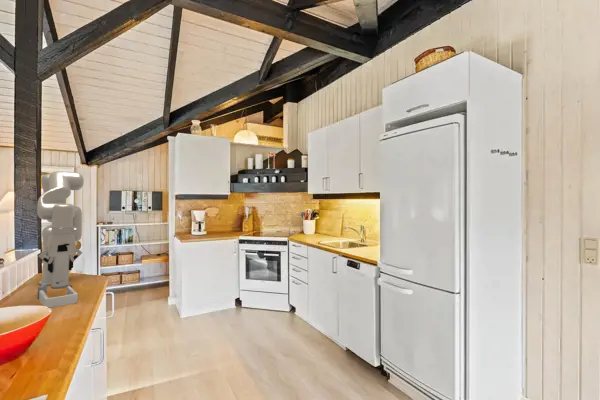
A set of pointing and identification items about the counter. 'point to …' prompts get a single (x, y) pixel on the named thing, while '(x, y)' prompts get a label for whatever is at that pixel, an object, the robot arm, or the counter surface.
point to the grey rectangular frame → (59, 298)
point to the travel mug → (60, 268)
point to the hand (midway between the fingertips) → (60, 270)
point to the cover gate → (43, 287)
